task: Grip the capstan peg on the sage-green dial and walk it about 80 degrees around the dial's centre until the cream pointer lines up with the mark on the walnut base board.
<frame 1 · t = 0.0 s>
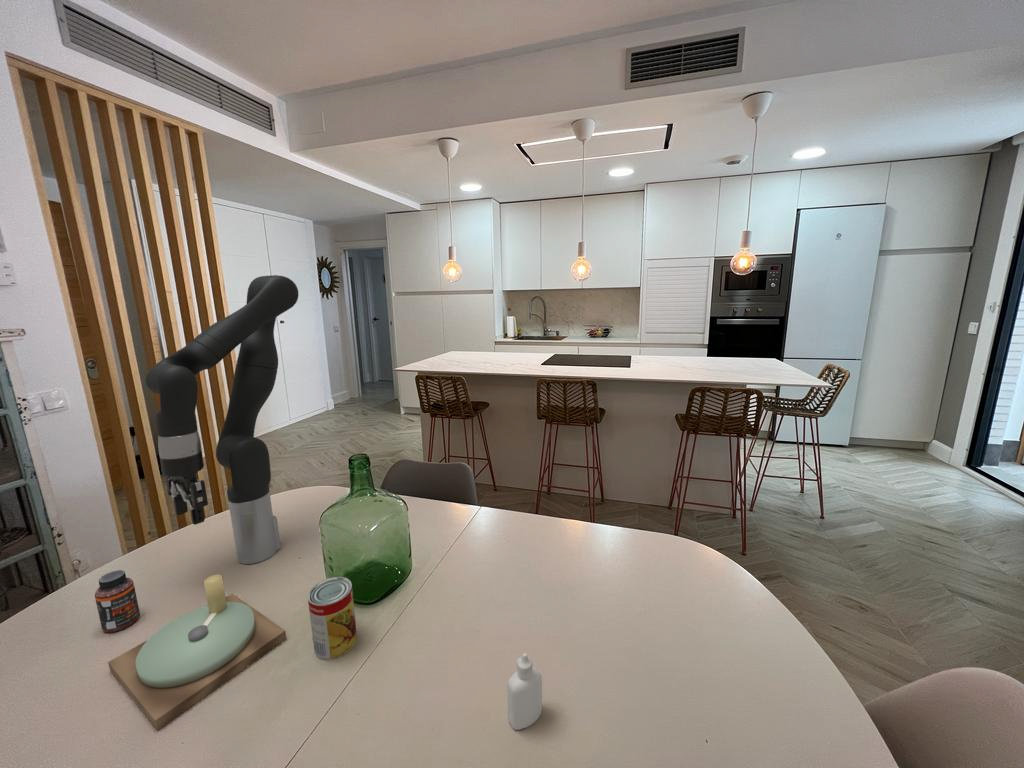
hand: (190, 518, 96), 17 cm above the table, tool pointing down, fingers open, 8 cm apart
supplement bottle: (122, 623, 88), on the table
eye dropper bottle: (524, 718, 67), on the table
dial: (196, 624, 78), point 7 cm above the table, hinge at 0.0°
canned food: (336, 643, 82), on the table
base board: (202, 654, 80), on the table
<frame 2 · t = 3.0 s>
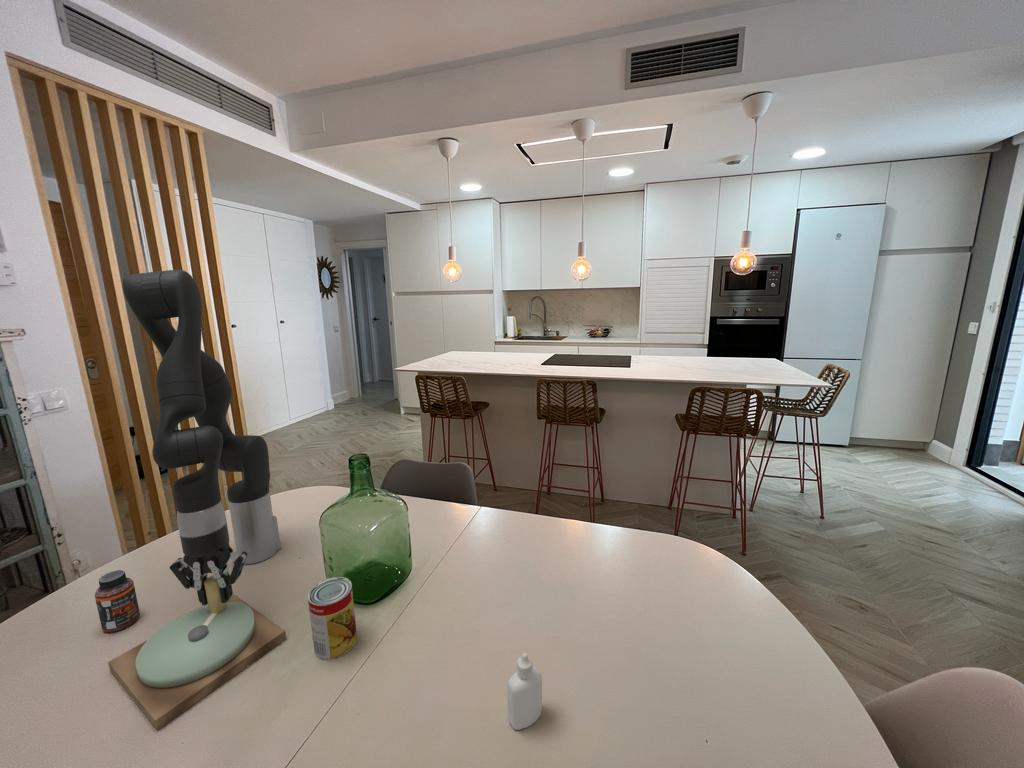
hand: (216, 600, 85), 6 cm above the table, tool pointing down, fingers closed on dial, 3 cm apart
dial: (196, 624, 78), point 7 cm above the table, hinge at 0.0°, touching gripper
everything else where it was.
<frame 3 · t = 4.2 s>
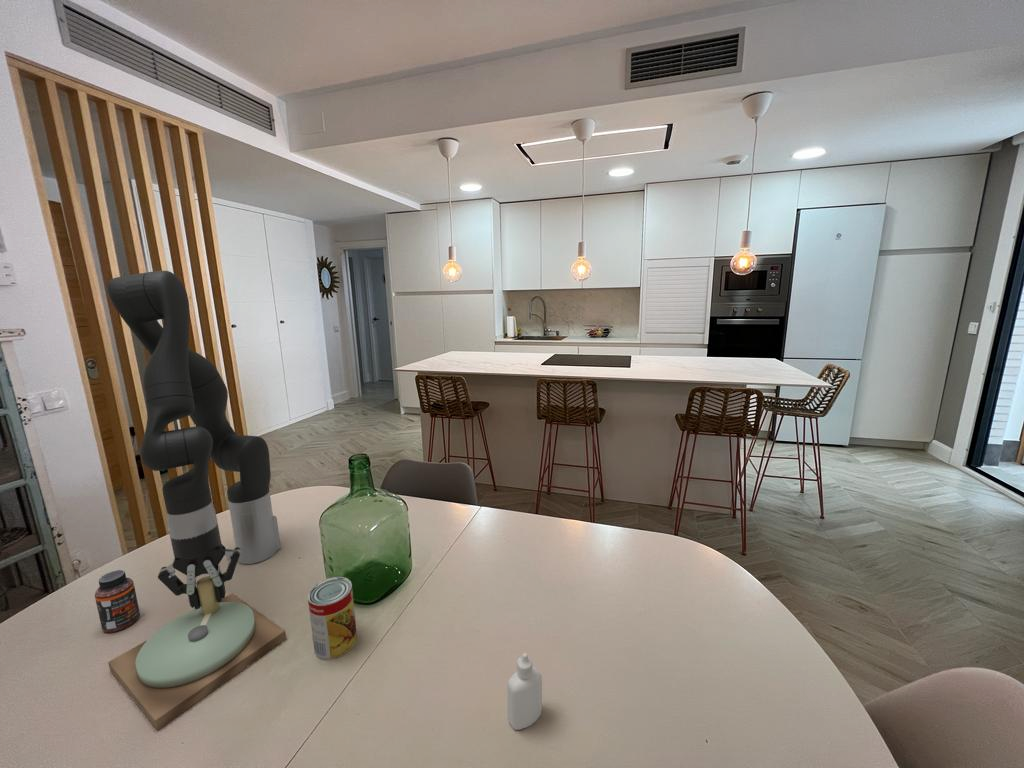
hand: (209, 602, 85), 6 cm above the table, tool pointing down, fingers closed on dial, 3 cm apart
dial: (196, 624, 78), point 7 cm above the table, hinge at 11.2°, touching gripper
everything else where it was.
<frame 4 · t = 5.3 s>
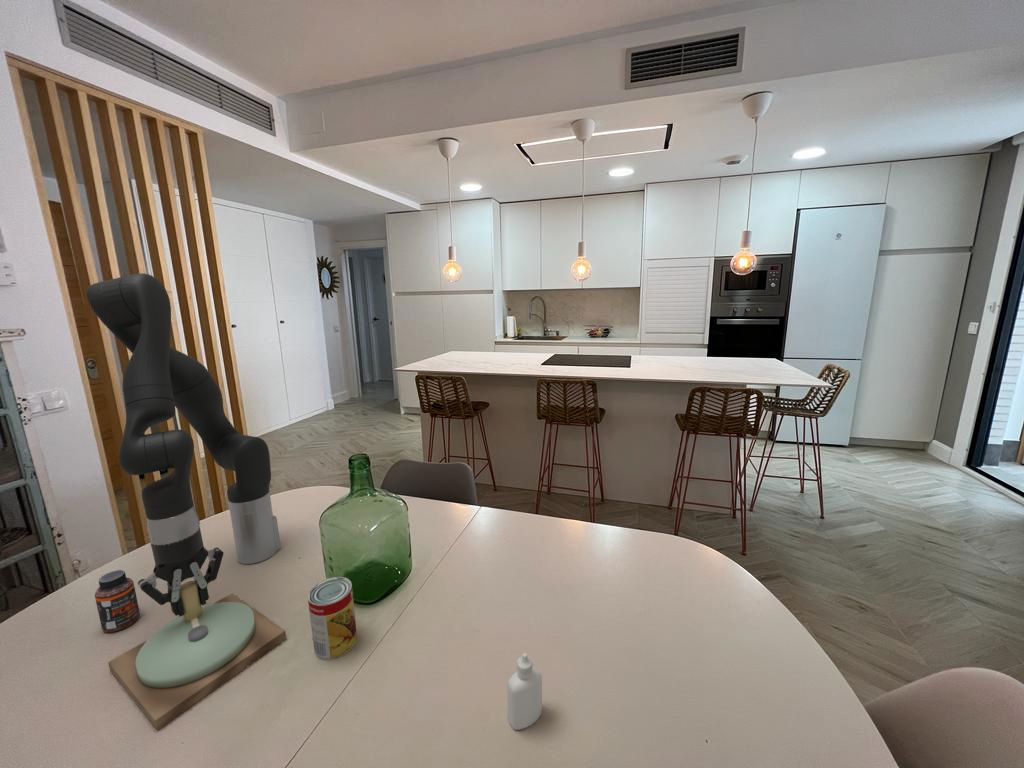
hand: (191, 608, 83), 6 cm above the table, tool pointing down, fingers closed on dial, 3 cm apart
dial: (196, 624, 78), point 7 cm above the table, hinge at 35.3°, touching gripper
everything else where it was.
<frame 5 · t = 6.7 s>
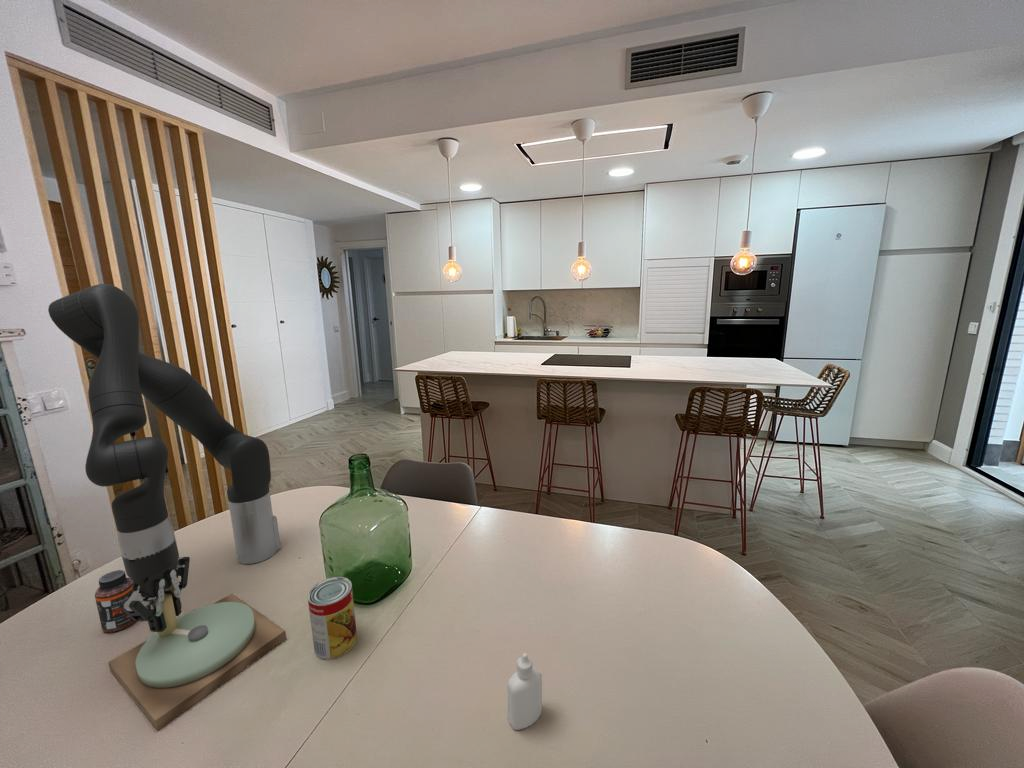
hand: (167, 622, 80), 6 cm above the table, tool pointing down, fingers closed on dial, 3 cm apart
dial: (196, 624, 78), point 7 cm above the table, hinge at 70.6°, touching gripper
everything else where it was.
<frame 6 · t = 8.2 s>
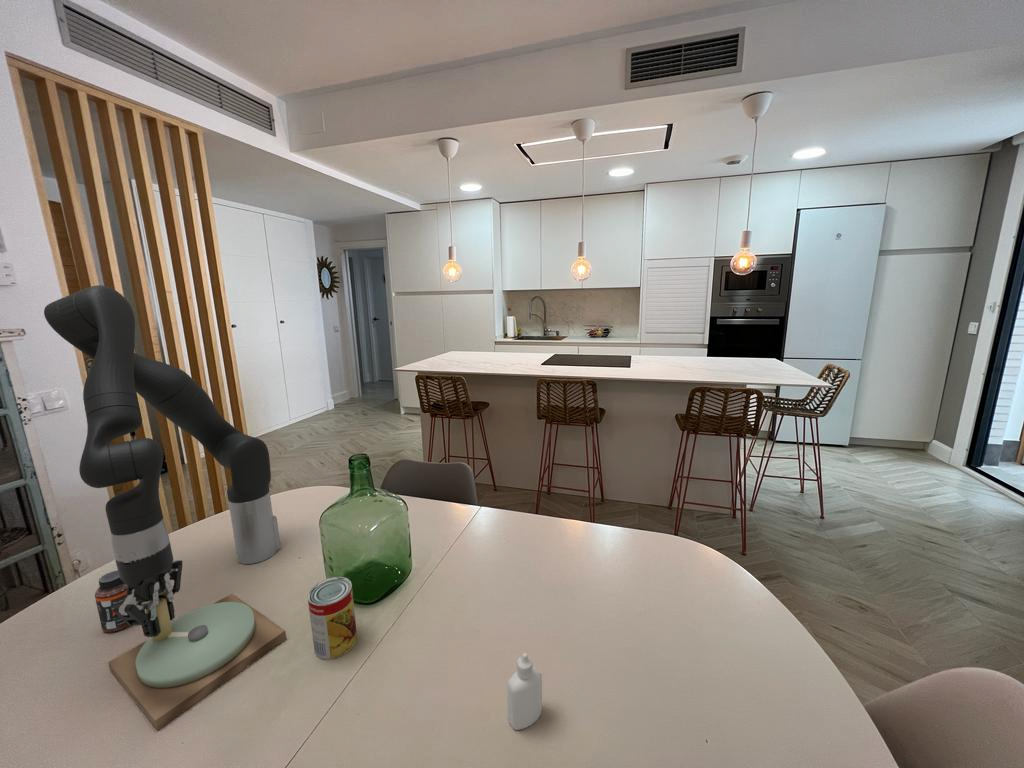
hand: (160, 627, 78), 6 cm above the table, tool pointing down, fingers closed on dial, 3 cm apart
dial: (196, 624, 78), point 7 cm above the table, hinge at 80.2°, touching gripper
everything else where it was.
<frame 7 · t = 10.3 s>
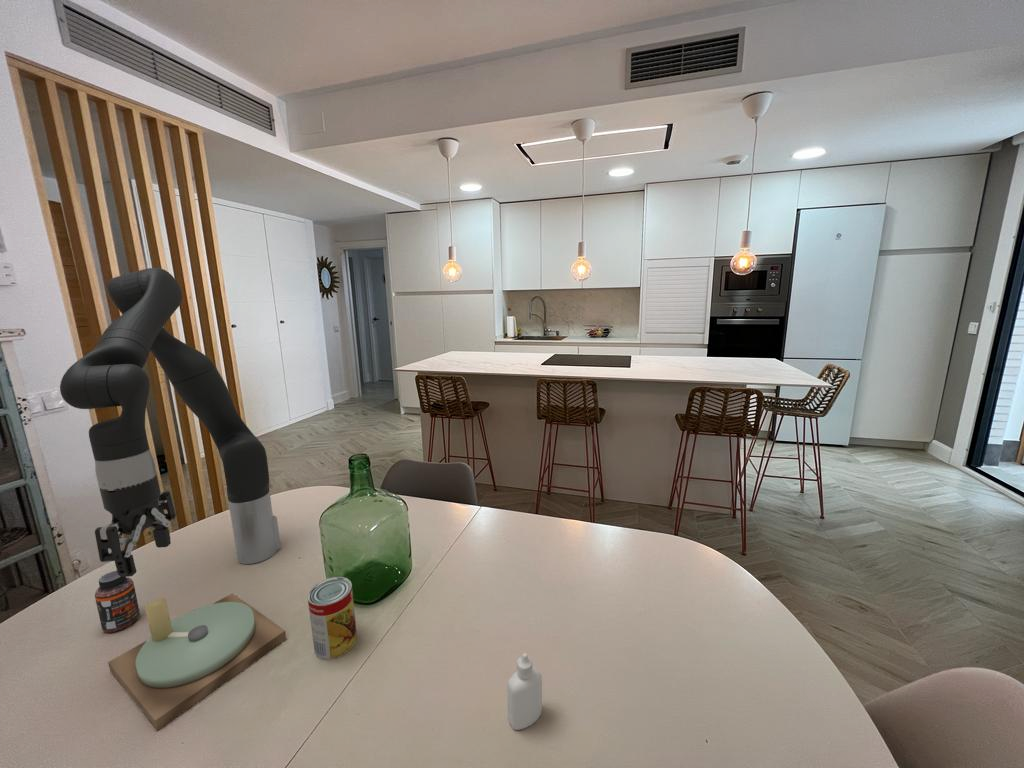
hand: (147, 560, 76), 20 cm above the table, tool pointing down, fingers open, 8 cm apart
dial: (196, 624, 78), point 7 cm above the table, hinge at 80.3°
everything else where it was.
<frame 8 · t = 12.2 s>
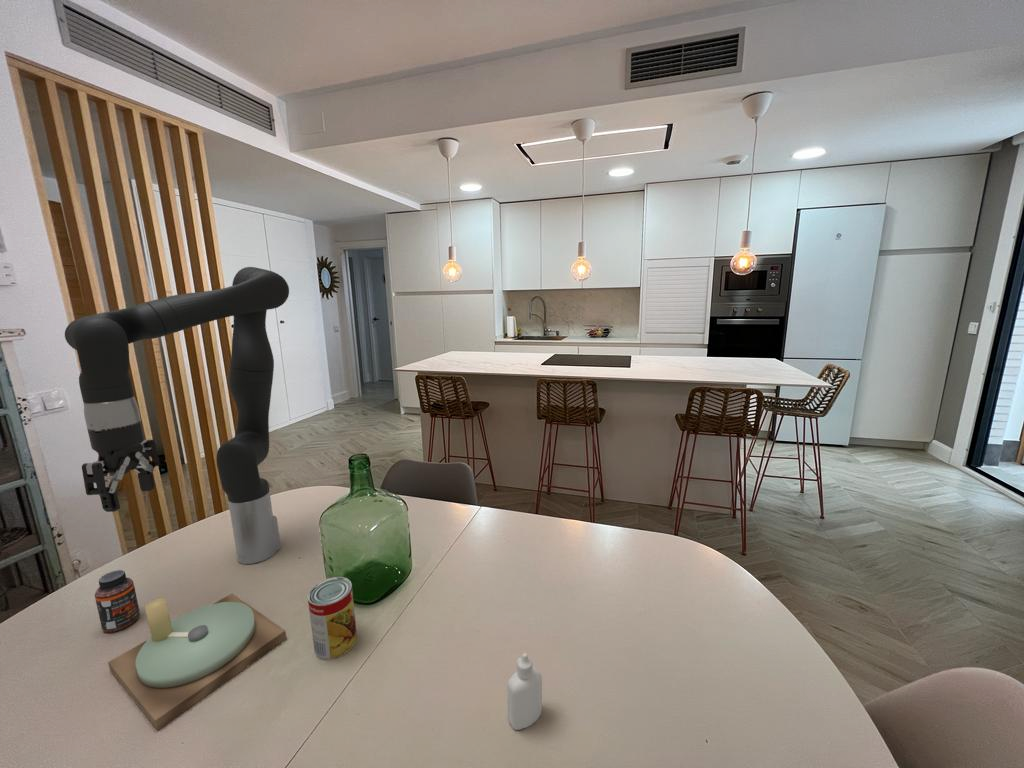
hand: (131, 500, 82), 28 cm above the table, tool pointing down, fingers open, 8 cm apart
nothing on the table moved.
at the end: dial at +80° (first picture: +0°); supplement bottle moved 0.2 cm from its start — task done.
